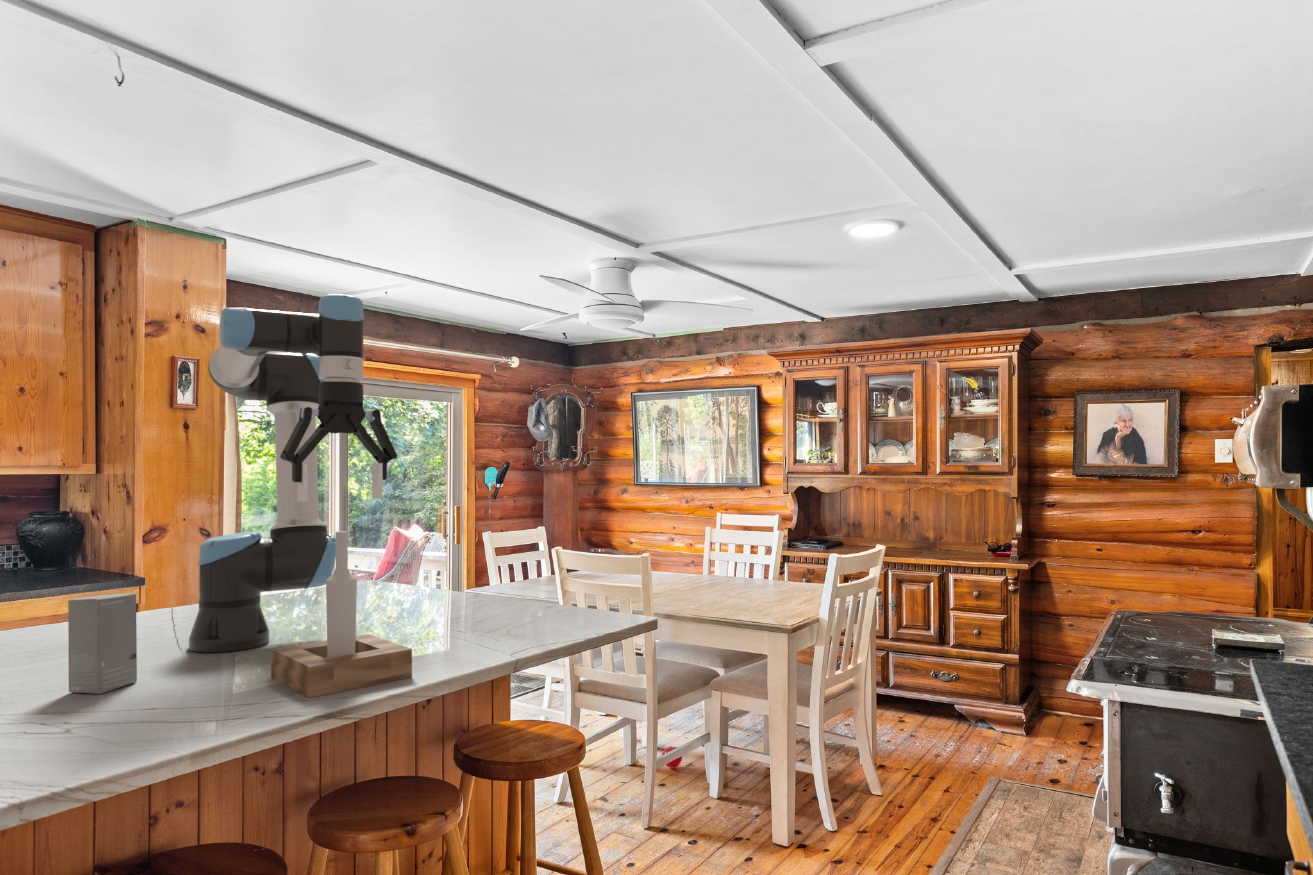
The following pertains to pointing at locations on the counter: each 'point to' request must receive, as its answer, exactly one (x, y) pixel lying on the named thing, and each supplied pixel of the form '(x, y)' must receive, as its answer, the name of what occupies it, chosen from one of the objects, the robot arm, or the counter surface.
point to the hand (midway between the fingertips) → (341, 500)
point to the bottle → (341, 603)
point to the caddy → (340, 666)
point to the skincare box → (102, 642)
